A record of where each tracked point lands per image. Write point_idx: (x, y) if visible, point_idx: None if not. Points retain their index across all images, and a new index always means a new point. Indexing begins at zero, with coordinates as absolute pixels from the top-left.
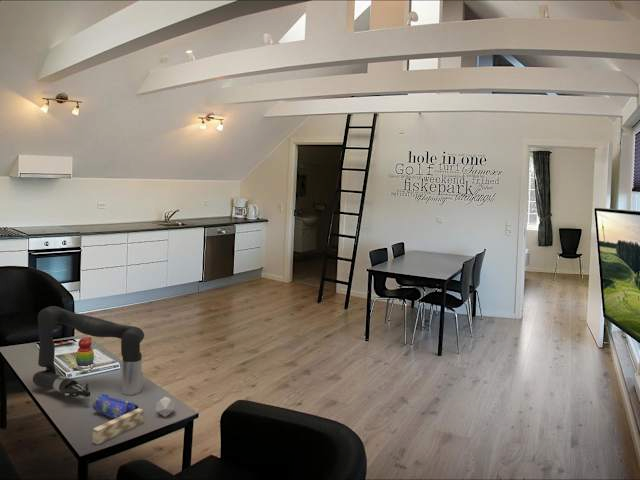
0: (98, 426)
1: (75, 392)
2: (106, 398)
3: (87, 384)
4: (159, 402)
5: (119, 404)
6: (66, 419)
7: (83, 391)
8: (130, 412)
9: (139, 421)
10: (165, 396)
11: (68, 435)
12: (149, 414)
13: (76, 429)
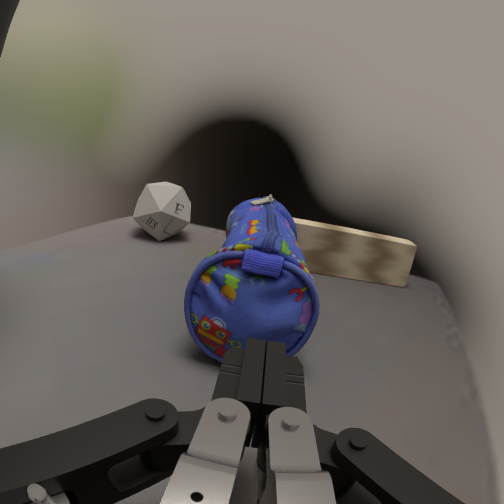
0: (400, 242)
1: (381, 450)
2: (282, 233)
3: (14, 457)
4: (183, 193)
5: (280, 217)
6: (442, 428)
7: (284, 392)
8: None
9: None
10: (148, 184)
11: (456, 337)
12: (177, 251)
13: (425, 343)
